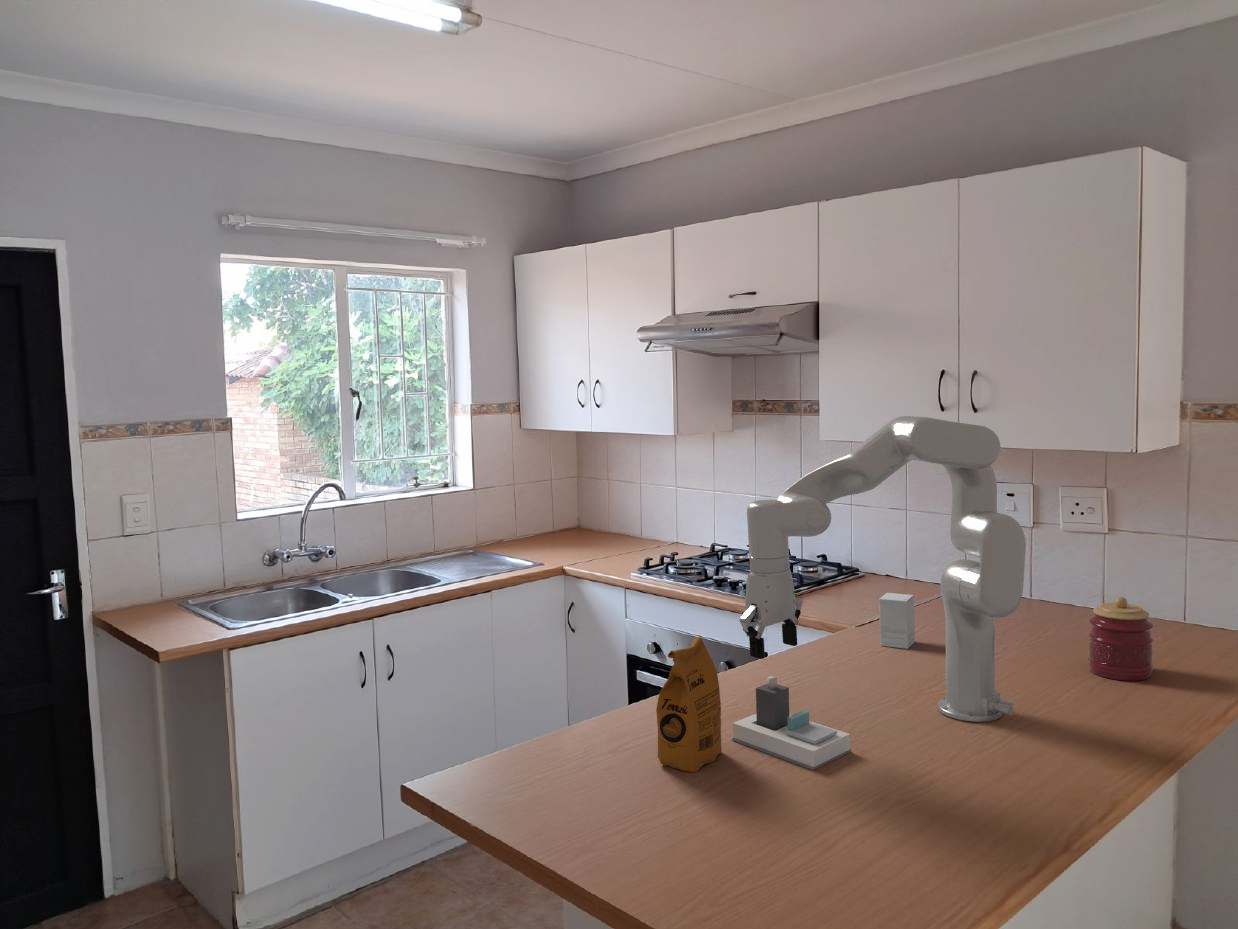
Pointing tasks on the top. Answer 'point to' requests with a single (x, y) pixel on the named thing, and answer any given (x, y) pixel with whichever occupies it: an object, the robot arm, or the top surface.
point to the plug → (772, 705)
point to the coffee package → (689, 710)
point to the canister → (1120, 641)
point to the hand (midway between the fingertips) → (774, 650)
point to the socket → (790, 744)
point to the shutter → (807, 728)
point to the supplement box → (897, 620)
